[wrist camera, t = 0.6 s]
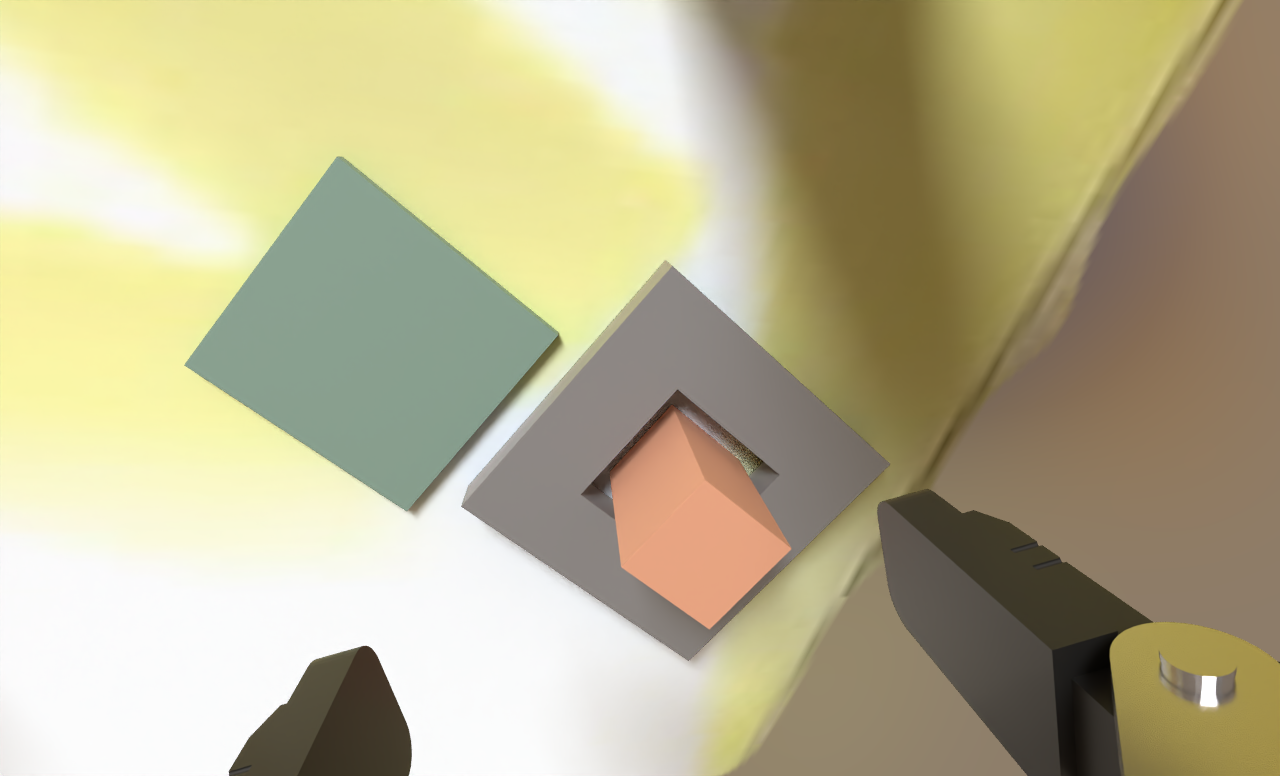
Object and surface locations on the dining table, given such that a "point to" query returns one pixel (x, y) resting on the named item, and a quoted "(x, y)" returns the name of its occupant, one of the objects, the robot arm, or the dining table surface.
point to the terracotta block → (692, 519)
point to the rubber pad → (371, 338)
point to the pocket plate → (617, 410)
